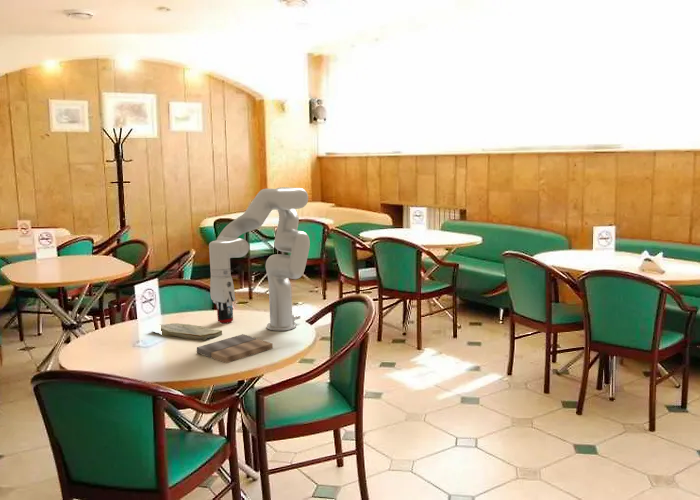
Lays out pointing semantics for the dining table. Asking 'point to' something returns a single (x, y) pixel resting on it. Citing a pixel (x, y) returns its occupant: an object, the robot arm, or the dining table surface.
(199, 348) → the smoked oak plank
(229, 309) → the beverage can
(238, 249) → the robot arm
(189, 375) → the dining table surface
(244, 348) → the walnut board
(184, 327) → the stone slab
